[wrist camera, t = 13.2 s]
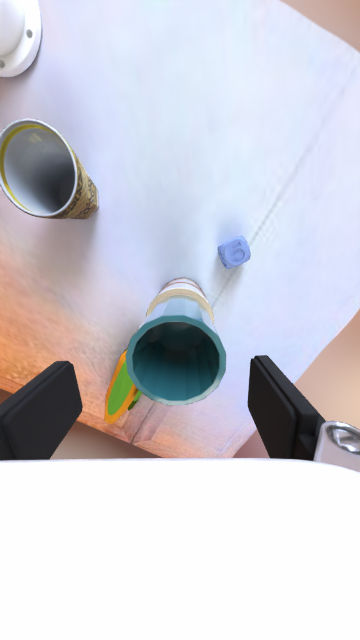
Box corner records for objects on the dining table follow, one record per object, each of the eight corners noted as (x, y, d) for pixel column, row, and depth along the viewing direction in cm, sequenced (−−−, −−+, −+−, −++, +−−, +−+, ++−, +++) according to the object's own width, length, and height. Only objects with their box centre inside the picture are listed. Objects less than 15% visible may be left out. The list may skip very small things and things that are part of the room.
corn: (159, 364, 32) (118, 447, 37) (166, 346, 39) (131, 418, 45) (118, 345, 32) (83, 431, 37) (133, 331, 39) (102, 405, 44)
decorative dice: (237, 237, 33) (244, 233, 30) (245, 258, 34) (253, 258, 30) (216, 248, 34) (219, 246, 30) (224, 269, 35) (229, 269, 31)
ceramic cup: (107, 164, 31) (72, 119, 21) (111, 232, 34) (81, 219, 24) (28, 161, 31) (-43, 115, 22) (37, 228, 34) (-21, 214, 24)
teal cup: (147, 295, 21) (120, 317, 12) (210, 293, 21) (227, 313, 12) (152, 352, 23) (131, 406, 14) (210, 351, 23) (224, 404, 14)
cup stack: (159, 278, 36) (140, 289, 21) (203, 277, 35) (216, 286, 21) (162, 321, 38) (147, 357, 23) (203, 319, 38) (215, 355, 23)
